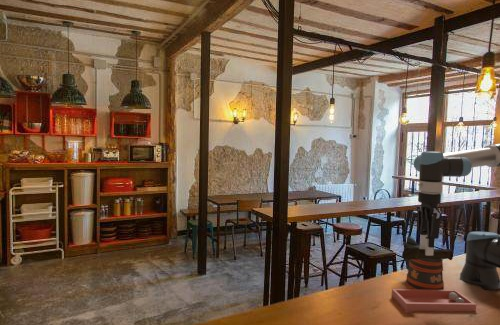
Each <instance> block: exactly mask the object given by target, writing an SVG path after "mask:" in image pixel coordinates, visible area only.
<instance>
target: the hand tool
mask: <svg viewBox="0 0 500 325" xmlns="http://www.w3.org/2000/svg"><path fill="white" fill-rule="evenodd" d="M405 247H406V246H405ZM405 247H404V249H403V251H402V254H401V255H402V256H401V257H402V258H403V259H404V260H405V259H414V260H418V259H419V258H437V259H442V260H445V259H447V260H449V261H452V260H453V259H454V258H453V257H454V252H453V250H451V249H450V248H445V249H440V248H436V249H435V248H434V252H433V256H429V255H425V249H419V248H417V247H406V248H405Z"/></svg>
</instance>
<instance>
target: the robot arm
mask: <svg viewBox="0 0 500 325" xmlns="http://www.w3.org/2000/svg"><path fill="white" fill-rule="evenodd" d="M485 166H487V167H488V168H489V167H490V168H494V167H495V168H497V167H500V143H496V144H488V145H486V146H484V147H483V148H476V149H469V150H461V151H459V150H458V151H454V152H453V151H452V152H444V153H443V151H428V150H427V151H422V152H421V153H420V154H419V155H417V156H416V157H415V159H414V160H413V167H414V169H415V170H416V171H417V172H419V174H418V175H419V178H418V179H419V180H418V181H419V182H418V184H417V185H418V195H417V197H418V198H417V200H418V201H417V202H419V203H421V205H420V206H419V205H418V206H416V211H417V213H416V214H417V215H416V217H417V219H416V222H417V223H416V229H417V230H416V231H417V232H419V235H420V237H419V240H420V241H419V245H420V249H425V255H429V256H433V252H434V249H435V240H436V239H439V236H440V229H441V228H440V227H441V219H442V216H443V213H442V212H438V205H440V204H441V202H442V200H441V199H442V194H441V193H442V187H443V186H442V185H443V184H442V183H443V181H442V180H443V177H448V178H449V177H456V178H460V177H466V176H468V175H470V174H471V172H472V169H473V168H479V167H485ZM466 236H467V237H466V244H465V245H466V247H465V263H464V265H463V267H462V269H461V272H460V274H459V280H460V281H463V282H465V283H468V284H469V285H473V286H477V287H479V288H481V289H482V290H486V291H488V290H489V291H497V290H499V289H500V276H499V273H498V268H499V269H500V234H498V233H496V232H491V231H489V232H488V231H470V232H468V233H467V235H466Z"/></svg>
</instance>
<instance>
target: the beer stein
mask: <svg viewBox="0 0 500 325" xmlns="http://www.w3.org/2000/svg"><path fill="white" fill-rule="evenodd" d="M402 245H403V246H405V247H404V249H405V248H406V247H417V248H419V249H420V244H418V242H417V241H416V240H415V239H414V238H412V237H411V236H407V238H406V241H405V242H403V244H402ZM404 260H405V263H406V266H407V267H406V270H407V274H406V280H405V285H406V287H408V288H409V289H426V290H445V288H444V287H445V286H444V285H445V284H444V282H445V281H444V279H443V275H444V274H443V271H444V264H443V260H444V259H437V258H419V259H418V260H414V259H405V258H404Z"/></svg>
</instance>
